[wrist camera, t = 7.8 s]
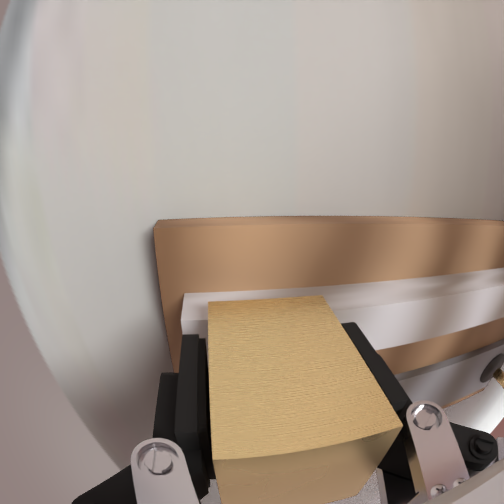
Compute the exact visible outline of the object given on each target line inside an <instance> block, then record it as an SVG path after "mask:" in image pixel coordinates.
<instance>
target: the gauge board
mask: <svg viewBox="0 0 504 504" xmlns="http://www.w3.org/2000/svg"><path fill="white" fill-rule="evenodd" d="M153 231H154V241H155V251H156V260H157V269H158V277H159V285H160V292H161V299H162V306H163V313H164V319H165V326H166V332H167V337H168V343H169V349H170V354H171V360H172V365H173V370H174V373H179V363H180V352H181V342H182V335H183V334H199V338H205V339H206V349H207V360H208V369H209V355H208V302H211V301H235V300H255V299H272V298H288V297H302V296H316V295H322V296H323V297H324V299H325V300H326V302H327V303H328V305H329V306H330V308H331V310H332V311H333V313H334V314H335V316H336V317H337V319H338V320H339V322H340V323H348V322H355V323H356V324H357V325H358V327H359V328H360V329H361V331H362V332H363V334H364V335H365V337H366V338H367V339H368V341H369V342H370V344H371V345H372V347H373V348H374V349H375V351H376V352H377V354H379V355H380V356H381V357H382V358H383V360H384V361H385V363H386V364H387V366H388V367H389V368H390V370H391V371H392V373H393V374H394V376H395V377H396V379H397V380H398V382H399V383H400V385H401V386H402V388H403V389H404V391H405V392H406V394H407V395H408V397H409V398H410V400H411V401H412V403H414V402H417V401H431V402H434V403H436V404H438V405H439V406H440V407H441V408H442V409H443V408H446V407H448V406H451V405H453V404H455V403H457V402H460V401H462V400H464V399H466V398H468V397H470V396H473V395H475V394H477V393H479V392H481V391H483V390H484V388H485V387H486V386H487V385H488V383H489V382H490V380H491V378H492V377H493V373H494V372H495V370H496V369H498V368H501V366H502V365H503V362H504V221H497V220H478V219H456V218H429V217H388V216H265V217H222V218H192V219H168V220H158V221H157V223H156V225H155V226H154V228H153Z"/></svg>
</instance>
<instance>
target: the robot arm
mask: <svg viewBox="0 0 504 504" xmlns="http://www.w3.org/2000/svg"><path fill="white" fill-rule="evenodd" d="M341 325H342V327H343V328H344V330H345V331H346V333H347V334H348V336H349V338H350V339H351V341H352V342H353V344H354V345H355V347H356V349H357V350H358V352H359V353H360V355H361V357H362V358H363V360H364V361H365V363H366V365H367V366H368V368H369V370H370V371H371V373H372V374H373V376H374V378H375V379H376V381H377V383H378V384H379V386H380V387H381V389H382V391H383V392H384V394H385V396H386V397H387V399H388V401H389V402H390V404H391V406H392V407H393V409H394V411H395V412H396V414H397V416H398V417H399V419H400V421H401V423H402V424H403V427H402V428H401V430H400V432H399V434H398V435H397V437H396V439H395V440H394V442H393V443H392V445H391V447H390V448H389V450H388V451H387V453H386V454H385V456H384V458H383V459H382V461H381V462H380V464H379V465H378V466H377V468H376V475H377V481H378V487H379V494H380V501H381V504H504V438H500V437H498V438H497V439H496V440H495V439H494V437H493V436H491V435H490V434H489V433H486V432H483V431H479V430H476V429H472V428H468V427H465V426H461V425H458V424H454V423H451V422H449V421H448V418H447V416H446V414H445V412H444V410H443V409H442V408H441V407H440V406H439V405H438V404H436V403H434V402H431V401H417V402H414V403H412V401H411V400H410V398H409V397H408V395H407V394H406V392H405V391H404V389H403V388H402V386H401V385H400V383H399V382H398V380H397V379H396V377H395V376H394V374H393V373H392V371H391V370H390V368H389V367H388V366H387V364H386V363H385V361H384V360H383V358H382V357H381V356H380V355H379V354H377V352H376V351H375V349H374V348H373V347H372V345H371V344H370V342H369V341H368V339H367V338H366V337H365V335H364V334H363V332H362V331H361V329H360V328H359V327H358V325H357V324H356V323H355V322H348V323H341ZM210 479H216V475H215V470H214V464H213V458H212V440H211V419H210V393H209V369H208V360H207V349H206V339H205V338H199V334H183V335H182V342H181V352H180V363H179V373H162V374H161V377H160V384H159V391H158V398H157V406H156V413H155V421H154V430H153V438H152V439H148V440H145V441H143V442H141V443H139V444H138V445H137V446H136V447H135V448H134V450H133V452H132V454H131V465H129V466H128V467H126V468H125V469H123V470H122V471H120V472H118V473H117V474H115V475H114V476H112V477H110V478H109V479H107V480H106V481H104V482H102V483H101V484H99V485H97V486H96V487H94V488H92V489H91V490H89V491H87V492H85V493H84V494H82V495H80V496H79V497H78V498H76V499H75V500H74V501H73V502H72V504H201V502H200V500H201V499H202V498H203V497H204V496H205V495H207V494H208V487H210Z"/></svg>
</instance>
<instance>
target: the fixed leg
mask: <svg viewBox="0 0 504 504" xmlns="http://www.w3.org/2000/svg"><path fill="white" fill-rule="evenodd" d="M493 377H494V378H495V379H496V380H497V381H498V382H499V384H500V385H501V386H502V387H503V388H504V372H503V371H502V370H501V369H500V368H498V369H496V370H495V372H494V373H493Z"/></svg>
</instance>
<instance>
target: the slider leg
mask: <svg viewBox="0 0 504 504" xmlns="http://www.w3.org/2000/svg"><path fill="white" fill-rule="evenodd" d="M208 355H209V393H210V419H211V440H212V458H213V464H214V470H215V475H216V480H217V484H218V489H219V494H220V498H221V503H222V504H325V503H330V502H334V501H338V500H341V499H345V498H349V497H352V496H356V495H357V494H358V493H359V491H360V490H361V489H362V487H363V486H364V485H365V483H366V482H367V481H368V479H369V478H370V476H371V475H372V474H373V472H374V471H375V469H376V468H377V466H378V465H379V464H380V462H381V461H382V459H383V458H384V456H385V454H386V453H387V451H388V450H389V448H390V447H391V445H392V443H393V442H394V440H395V439H396V437H397V435H398V434H399V432H400V430H401V428H402V427H403V424H402V423H401V421H400V419H399V417H398V416H397V414H396V412H395V411H394V409H393V407H392V406H391V404H390V402H389V401H388V399H387V397H386V396H385V394H384V392H383V391H382V389H381V387H380V386H379V384H378V383H377V381H376V379H375V378H374V376H373V374H372V373H371V371H370V370H369V368H368V366H367V365H366V363H365V361H364V360H363V358H362V357H361V355H360V353H359V352H358V350H357V349H356V347H355V345H354V344H353V342H352V341H351V339H350V338H349V336H348V334H347V333H346V331H345V330H344V328H343V327H342V325H341V323H340V322H339V320H338V319H337V317H336V316H335V314H334V313H333V311H332V310H331V308H330V306H329V305H328V303H327V302H326V300H325V299H324V297H323V296H322V295H316V296H302V297H288V298H272V299H255V300H235V301H211V302H208Z"/></svg>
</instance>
